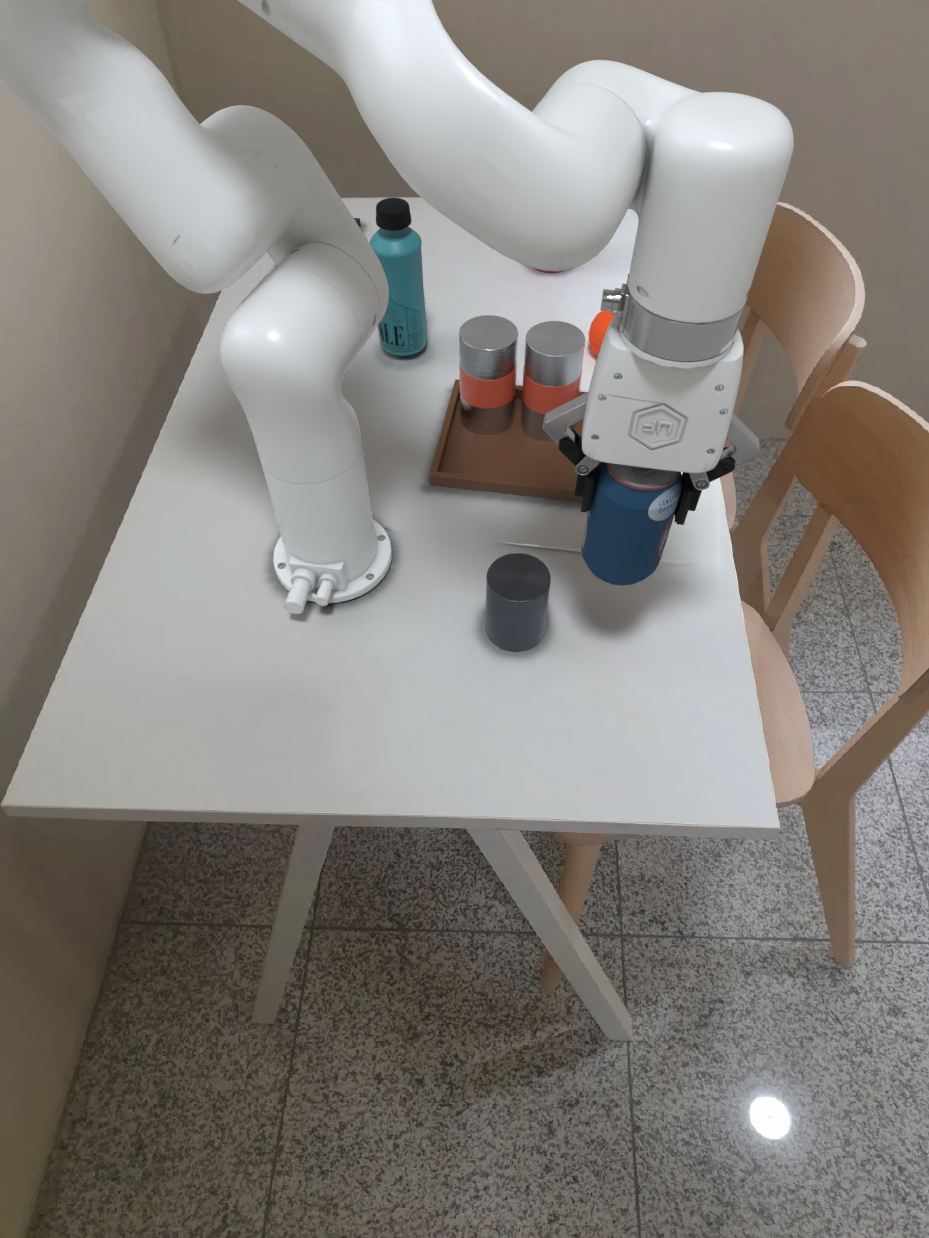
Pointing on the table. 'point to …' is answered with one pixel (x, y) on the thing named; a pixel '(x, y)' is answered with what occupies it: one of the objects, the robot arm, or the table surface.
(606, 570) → the soda can
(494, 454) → the tray
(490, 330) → the can
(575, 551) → the table surface
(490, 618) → the grey tin
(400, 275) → the beverage bottle
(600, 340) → the clementine
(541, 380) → the can
